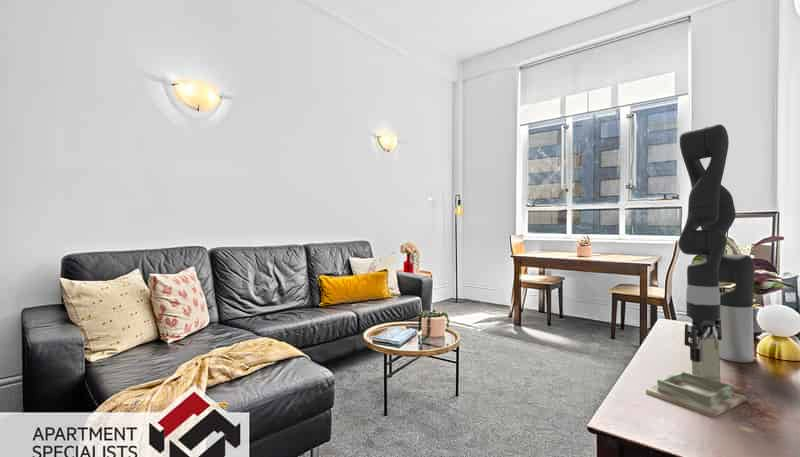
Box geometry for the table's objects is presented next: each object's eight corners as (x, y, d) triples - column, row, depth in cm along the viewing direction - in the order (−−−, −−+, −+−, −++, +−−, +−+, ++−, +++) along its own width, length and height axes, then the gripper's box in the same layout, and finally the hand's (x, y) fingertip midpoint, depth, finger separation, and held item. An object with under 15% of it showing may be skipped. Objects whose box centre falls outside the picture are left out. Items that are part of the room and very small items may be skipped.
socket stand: (680, 379, 110) (679, 367, 110) (746, 400, 97) (746, 386, 97) (646, 392, 103) (645, 379, 103) (712, 417, 89) (712, 402, 89)
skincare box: (721, 384, 106) (720, 340, 106) (703, 384, 107) (702, 339, 107) (708, 375, 112) (707, 333, 112) (691, 374, 113) (690, 332, 113)
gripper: (701, 296, 116) (702, 350, 116) (673, 301, 110) (674, 359, 110) (732, 300, 109) (732, 358, 109) (704, 306, 103) (705, 367, 103)
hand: (703, 358), depth 110 cm, fingers open, 8 cm apart
